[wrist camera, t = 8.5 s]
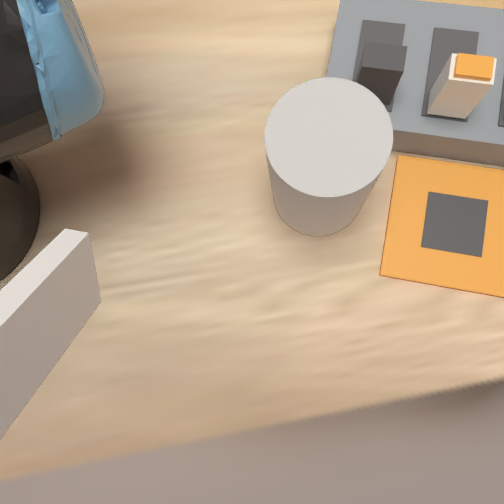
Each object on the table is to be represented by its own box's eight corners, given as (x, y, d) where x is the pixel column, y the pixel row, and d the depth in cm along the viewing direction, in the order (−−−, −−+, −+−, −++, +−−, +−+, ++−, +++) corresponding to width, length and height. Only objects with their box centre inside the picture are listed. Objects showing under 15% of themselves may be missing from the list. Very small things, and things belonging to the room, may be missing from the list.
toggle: (426, 113, 35) (450, 76, 30) (430, 90, 35) (454, 49, 30) (465, 118, 35) (496, 81, 29) (468, 95, 35) (499, 54, 30)
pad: (379, 275, 38) (380, 274, 37) (397, 156, 39) (398, 154, 39) (512, 299, 36) (515, 298, 36) (525, 175, 38) (528, 172, 38)
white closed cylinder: (376, 167, 39) (411, 100, 28) (343, 249, 38) (366, 215, 27) (292, 138, 41) (292, 61, 29) (259, 216, 40) (244, 170, 28)
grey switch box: (316, 139, 40) (322, 87, 32) (337, 23, 42) (348, -57, 33) (544, 172, 38) (620, 125, 29) (556, 48, 40) (631, -32, 31)
